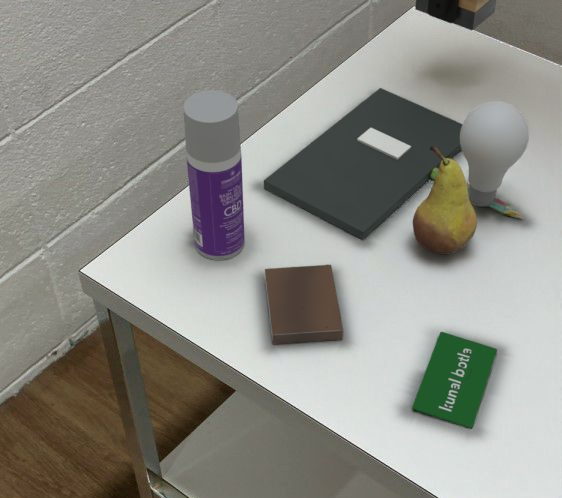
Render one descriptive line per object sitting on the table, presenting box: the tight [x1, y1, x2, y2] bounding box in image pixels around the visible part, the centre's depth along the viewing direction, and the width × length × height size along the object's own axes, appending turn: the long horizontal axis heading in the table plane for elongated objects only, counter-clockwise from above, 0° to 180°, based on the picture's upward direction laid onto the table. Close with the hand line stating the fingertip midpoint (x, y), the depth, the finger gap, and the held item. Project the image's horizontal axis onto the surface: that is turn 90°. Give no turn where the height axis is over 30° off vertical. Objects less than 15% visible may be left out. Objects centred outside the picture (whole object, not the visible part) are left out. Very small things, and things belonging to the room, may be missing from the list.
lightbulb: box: [460, 101, 530, 208], centre depth 87 cm, size 6×6×11 cm
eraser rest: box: [264, 264, 344, 345], centre depth 82 cm, size 6×8×1 cm
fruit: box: [412, 146, 478, 255], centre depth 83 cm, size 6×6×12 cm
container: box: [182, 89, 246, 261], centre depth 82 cm, size 5×5×15 cm
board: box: [263, 87, 463, 241], centre depth 95 cm, size 20×12×1 cm, turn 141°
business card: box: [411, 331, 498, 429], centre depth 78 cm, size 9×1×5 cm
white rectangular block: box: [357, 128, 411, 160], centre depth 96 cm, size 2×5×1 cm, turn 51°
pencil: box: [430, 167, 526, 220], centre depth 93 cm, size 1×1×18 cm
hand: (455, 5), depth 99 cm, fingers closed on eraser, 4 cm apart
